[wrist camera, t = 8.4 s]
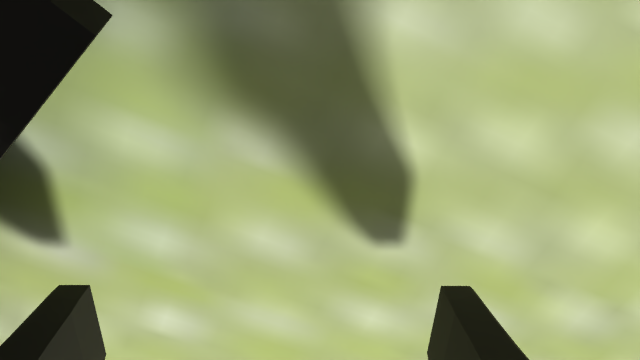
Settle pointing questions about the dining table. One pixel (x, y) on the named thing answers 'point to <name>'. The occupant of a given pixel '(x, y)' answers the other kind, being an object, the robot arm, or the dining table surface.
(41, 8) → the toy
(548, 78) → the dining table surface
